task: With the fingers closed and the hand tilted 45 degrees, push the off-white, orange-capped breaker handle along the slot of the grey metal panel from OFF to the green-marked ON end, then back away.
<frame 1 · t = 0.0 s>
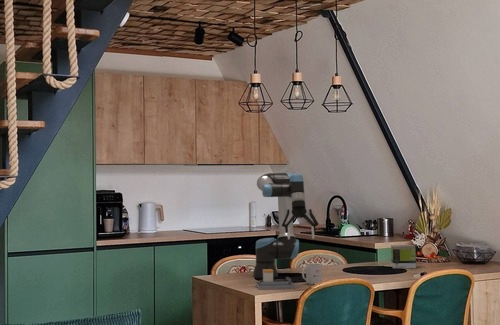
hand: (301, 238, 380), 28 cm above the table, tool tilted 20°, fingers open, 13 cm apart
mug: (311, 284, 397), on the table
tea box: (403, 268, 458), on the table
breaker handle: (268, 276, 388), point 6 cm above the table, slide at 0.0 cm
breaker panel: (275, 287, 388), on the table
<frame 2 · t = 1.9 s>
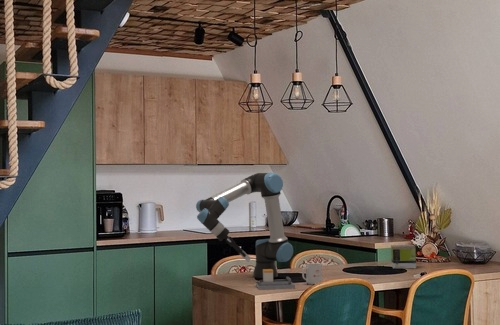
hand: (248, 259, 387), 16 cm above the table, tool tilted 45°, fingers open, 11 cm apart
nothing on the table moved.
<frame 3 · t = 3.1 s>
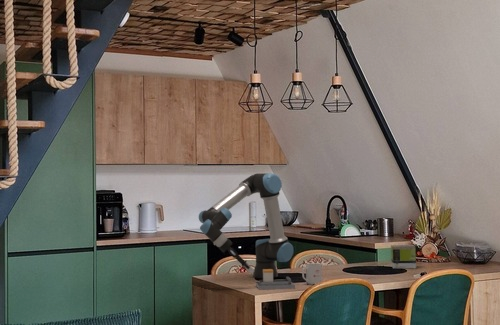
hand: (252, 272, 387), 9 cm above the table, tool tilted 45°, fingers closed
nothing on the table moved.
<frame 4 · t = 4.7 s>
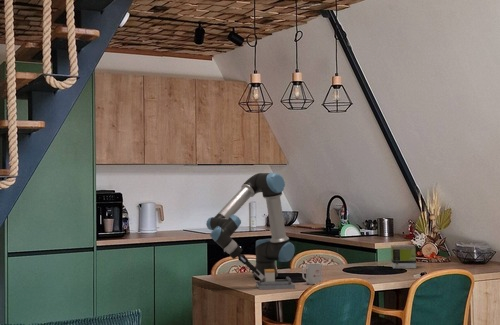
hand: (263, 278, 387), 5 cm above the table, tool tilted 45°, fingers closed
breaker handle: (269, 276, 388), point 6 cm above the table, slide at 0.9 cm, touching gripper
everything else where it was.
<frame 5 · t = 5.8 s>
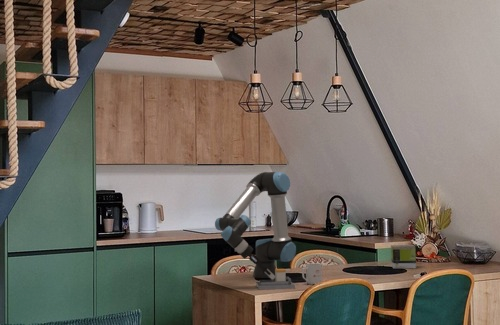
hand: (273, 278, 388), 5 cm above the table, tool tilted 45°, fingers closed
breaker handle: (280, 276, 389), point 6 cm above the table, slide at 7.0 cm, touching gripper
everything else where it was.
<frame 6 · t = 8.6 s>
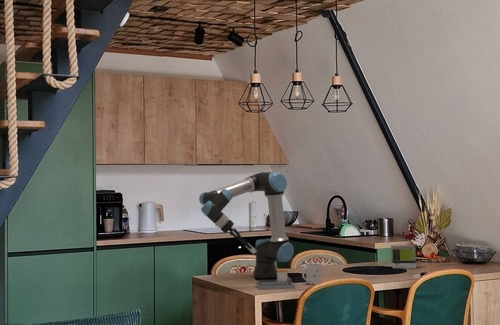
hand: (255, 252, 387), 20 cm above the table, tool tilted 45°, fingers closed
breaker handle: (282, 276, 389), point 6 cm above the table, slide at 8.0 cm
everything else where it was.
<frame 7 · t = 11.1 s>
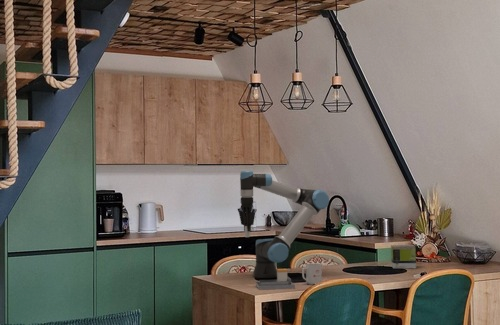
hand: (247, 236, 408), 26 cm above the table, tool pointing down, fingers closed
nothing on the table moved.
at the end: breaker handle slide at 8.0 cm; the gripper is holding nothing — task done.
